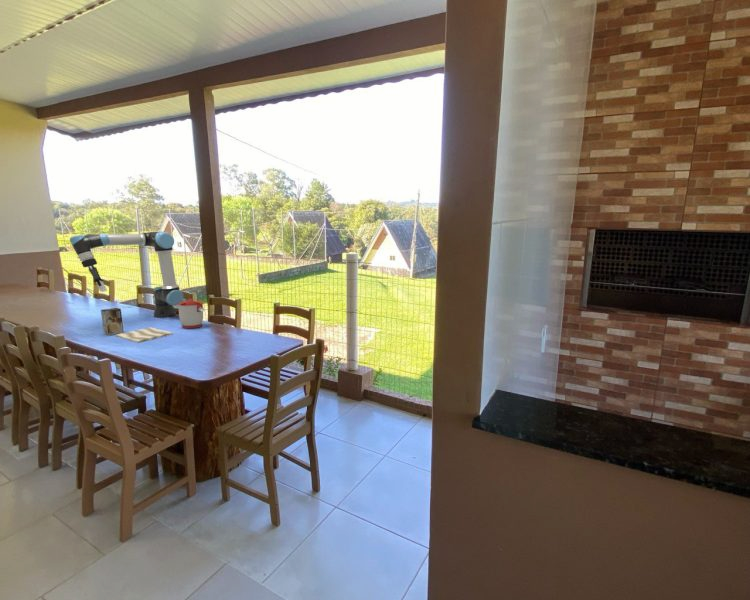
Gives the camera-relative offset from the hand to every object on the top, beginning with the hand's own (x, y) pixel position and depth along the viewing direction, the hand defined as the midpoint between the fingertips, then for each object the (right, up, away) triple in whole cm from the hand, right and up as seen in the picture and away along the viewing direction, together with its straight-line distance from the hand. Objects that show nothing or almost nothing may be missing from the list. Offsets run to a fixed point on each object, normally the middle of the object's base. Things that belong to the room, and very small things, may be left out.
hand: (104, 291), depth 240 cm
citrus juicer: (+46, -25, +22) cm, 57 cm away
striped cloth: (+27, -28, -1) cm, 39 cm away
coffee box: (+5, -27, +2) cm, 28 cm away
